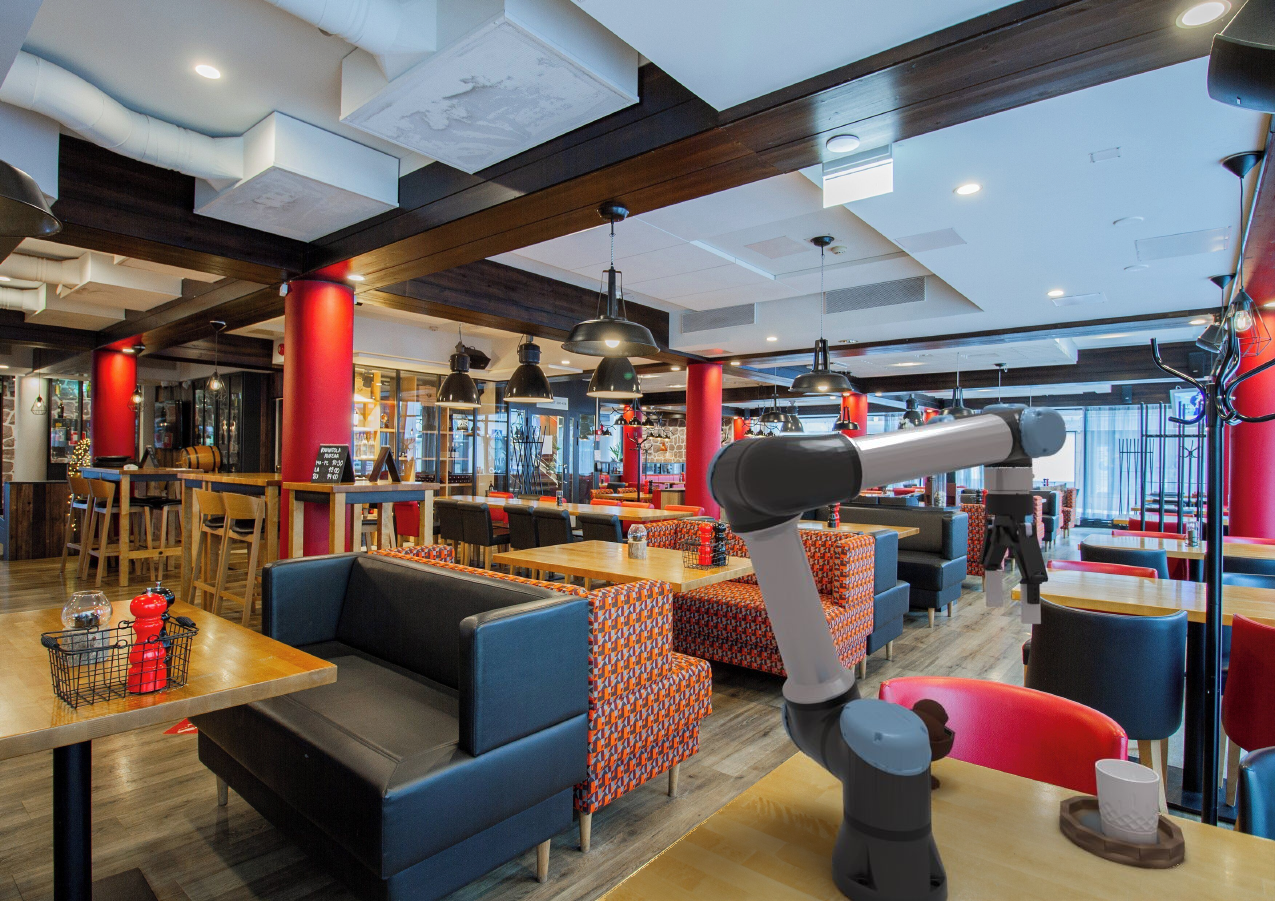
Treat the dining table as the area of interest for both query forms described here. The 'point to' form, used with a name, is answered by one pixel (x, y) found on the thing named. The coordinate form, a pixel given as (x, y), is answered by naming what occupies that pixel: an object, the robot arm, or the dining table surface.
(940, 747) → the ice cream bowl
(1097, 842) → the tray
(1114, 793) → the white cup
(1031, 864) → the dining table surface
